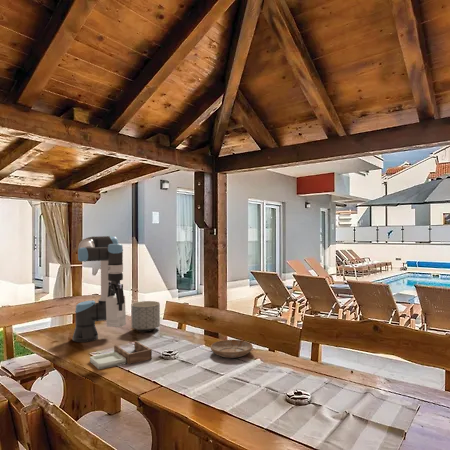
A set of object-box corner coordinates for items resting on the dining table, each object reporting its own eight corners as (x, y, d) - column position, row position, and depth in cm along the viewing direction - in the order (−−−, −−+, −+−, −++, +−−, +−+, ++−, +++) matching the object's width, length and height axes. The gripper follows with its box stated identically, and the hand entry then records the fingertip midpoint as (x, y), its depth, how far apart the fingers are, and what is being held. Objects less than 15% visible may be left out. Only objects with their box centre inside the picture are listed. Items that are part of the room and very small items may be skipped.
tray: (89, 361, 199) (89, 356, 199) (115, 356, 207) (115, 351, 207) (98, 369, 187) (98, 364, 187) (126, 363, 196) (125, 358, 196)
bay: (114, 354, 211) (114, 345, 211) (136, 349, 218) (136, 340, 218) (128, 364, 195) (128, 354, 195) (151, 358, 202) (151, 349, 202)
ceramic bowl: (258, 350, 215) (258, 341, 215) (243, 364, 194) (243, 354, 194) (221, 345, 225) (221, 337, 225) (203, 358, 204) (203, 348, 204)
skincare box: (126, 324, 203) (126, 295, 203) (119, 327, 197) (119, 297, 197) (112, 323, 206) (112, 294, 206) (105, 326, 199) (105, 297, 200)
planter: (157, 334, 250) (156, 306, 250) (128, 334, 251) (128, 306, 251) (162, 326, 269) (162, 300, 269) (135, 326, 270) (135, 301, 270)
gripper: (100, 271, 208) (101, 312, 208) (117, 275, 190) (117, 319, 190) (114, 270, 213) (114, 310, 212) (131, 274, 195) (131, 317, 195)
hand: (115, 315), depth 201 cm, fingers closed on skincare box, 10 cm apart
